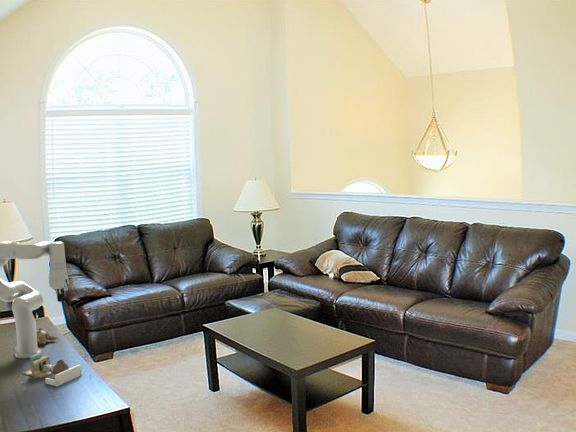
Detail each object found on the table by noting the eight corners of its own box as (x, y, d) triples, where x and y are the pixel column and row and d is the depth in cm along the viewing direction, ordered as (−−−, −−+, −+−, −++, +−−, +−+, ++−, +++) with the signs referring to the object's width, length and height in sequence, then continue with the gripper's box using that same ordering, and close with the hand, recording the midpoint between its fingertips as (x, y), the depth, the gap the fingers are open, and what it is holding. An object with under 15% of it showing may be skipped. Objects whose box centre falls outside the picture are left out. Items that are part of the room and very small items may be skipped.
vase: (64, 382, 261) (62, 363, 260) (50, 381, 263) (49, 363, 262) (72, 376, 268) (71, 358, 267) (59, 375, 270) (58, 357, 269)
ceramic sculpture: (38, 323, 326) (58, 327, 320) (39, 338, 328) (59, 342, 321) (23, 329, 317) (43, 333, 311) (24, 344, 318) (43, 348, 312)
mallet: (31, 372, 271) (29, 356, 271) (40, 368, 276) (38, 353, 275) (51, 376, 265) (50, 360, 264) (60, 372, 269) (58, 357, 268)
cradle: (45, 383, 260) (44, 373, 260) (70, 372, 273) (69, 362, 272) (57, 386, 257) (56, 375, 256) (81, 375, 269) (80, 364, 269)
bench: (22, 374, 272) (20, 359, 272) (36, 368, 279) (35, 354, 279) (40, 378, 266) (39, 363, 265) (55, 372, 273) (53, 357, 272)
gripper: (42, 266, 293) (45, 301, 295) (61, 268, 285) (64, 304, 287) (54, 263, 299) (57, 298, 301) (74, 265, 291) (77, 300, 293)
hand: (61, 300), depth 294 cm, fingers closed
